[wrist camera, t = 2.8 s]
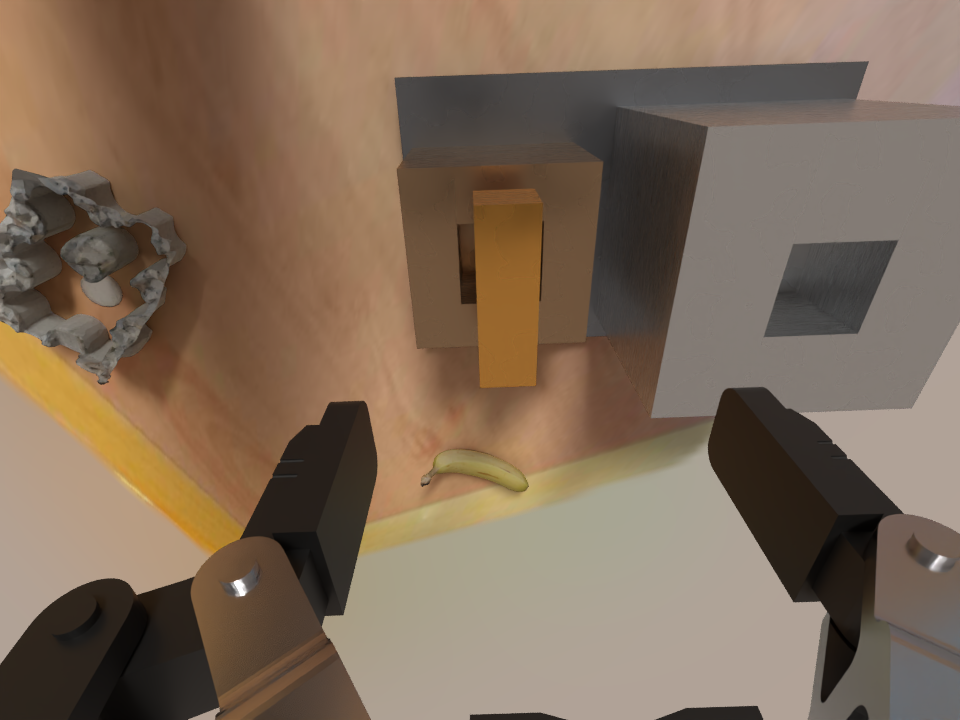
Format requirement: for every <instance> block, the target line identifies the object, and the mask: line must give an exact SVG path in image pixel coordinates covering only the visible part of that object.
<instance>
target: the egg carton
mask: <svg viewBox="0 0 960 720" xmlns="http://www.w3.org/2000/svg"><path fill="white" fill-rule="evenodd" d="M10 193H11V195H12V199H11V202H10V205H9V207H7V208H6V209H5V210H4V212H5V214H7V215H6V217H5V219H4V220H3V221H2V222H1V223H0V321H2V322H4V323H6V324H8V325H10V326H11V327H12V328H13V329H14V330H15V331H16V332H17V333H19V332H25V333H28V334H31V335H33V336H35V337H37V338H39V339H40V340H41V341H42V345H44V346H47V347H55V346H58V345H64V346H66V347H68V348H70V349H72V350H74V351H77V352H79V353H81V354H80V355H78V356H79V358H78V359H77V360H76V363H77V365H79V366H80V367H81V368H83V369H85V370H87V371H89V372H91V373H94V374H96V375H97V376H98V377H99V380H97V382H98V383H99V384H100V385H102V384H105V383H108V381H107V380H108V379H109V378H110V377H111V375H110V373H111V372H112V370H113V369H114V368H115V366H116V364H117V361H118V360H119V359H120V358H121V357H131V356H133V355H135V354H136V353H138V352H139V351H140V350H141V349H142V348H143V346H144V345H145V344H146V343H147V342H148V340H149V339H150V337H151V334H152V330H151V329H150V328H148V327H147V326H146V324H145V323H146V322H147V321H148V319H149V318H150V316H151V315H152V314H153V312H154V311H155V310H157V309H158V308H159V307H160V306H162V305H163V304H164V303H165V299H166V291H167V288H166V287H165V286H164V284H165V280H166V278H167V275H168V273H169V267H170V266H171V265H174V264H175V263H176V262H178V261H180V260H182V258H183V256H184V255H185V252H186V244H185V243H184V242H183V241H181V240H180V239H179V237H178V236H177V234H176V232H175V229H174V220H173V217H172V216H171V215H169V214H168V213H166V212H164V211H162V210H161V209H159V208H156V207H155V208H153V209H151V210H149V211H147V212H144V213H141V214H139V215H133V214H130V213H128V212H126V211H125V210H123V209H122V208H121V207H120V206H119V205H118V204H117V202H116V201H115V199H114V197H113V195H112V193H111V190H110V182H109V181H108V180H107V179H106V178H104V177H102V176H100V175H98V174H97V173H95V172H94V171H91V170H88V171H84V172H81V173H78V174H73V175H69V176H65V177H64V176H58V177H52V178H48V177H44V176H41V175H38V174H34V173H31V172H27V171H23V170H19V169H14V170H13V172H12V184H11V190H10ZM65 194H68V195H69V196H70V197H71V198H73V202H74V204H75V205H77V206H79V207H80V208H82V209H84V210H86V211H87V213H88V215H89V217H90V220H91V221H93V222H94V223H95V224H97V225H99V227H97V228H94V229H92V230H89V231H87V232H85V233H82V234H79V235H77V236H75V237H74V238H72V239H70V240H69V241H68V242H66V244H65V245H64V246H63V247H62V249H61V257H62V259H63V260H64V261H65V262H67V263H68V265H69V266H70V267H71V268H72V269H74V270H75V271H76V272H77V273H79V274H80V275H82V276H83V278H82V280H81V287H82V290H83V292H84V293H85V295H86V296H87V297H88V298H89V299H90V300H91V301H92V302H94V303H96V304H99V305H101V306H108V307H113V306H115V305H118V304H119V303H120V302H121V301H122V296H123V295H122V290H121V288H120V286H119V285H118V283H117V282H116V281H115V280H114V279H113V278H111V277H110V276H109V275H110V274H111V273H113V272H115V271H117V270H119V269H120V268H122V267H124V266H125V265H127V264H129V263H130V262H132V261H133V260H135V259H136V257H137V255H138V245H137V242H136V240H135V239H134V237H133V236H132V235H131V234H130V233H129V232H127V231H126V230H125V229H124V228H121V227H120V226H123V225H124V226H127V227H131V226H132V225H134V224H135V223H136V222H140V223H144V224H146V225H148V226H149V227H150V228H152V231H153V232H152V237H151V243H152V244H153V246H154V247H155V248H156V251H157V254H158V255H162V254H165V255H167V258H164V259H161V260H159V261H158V262H156V263H154V264H153V265H151V266H149V267H148V268H146V269H145V270H143V271H141V272H140V273H138V275H137V276H136V277H134V278H133V279H131V280H130V285H131V286H132V287H135V288H136V289H138V290H139V291H140V293H141V296H142V298H143V300H144V301H145V302H146V303H145V304H143V305H141V306H140V307H138V308H137V309H135V310H134V311H133V312H131V313H130V314H129V315H127V316H126V317H124V318H122V319H120V320H118V321H117V323H116V327H115V328H113V329H111V330H110V334H111V335H112V341H111V340H109V336H108V331H107V329H106V327H105V326H104V325H103V323H102V322H100V321H99V320H98V319H96V318H94V317H92V316H89V315H85V314H77V315H74V316H72V317H71V318H69V319H67V320H65V319H63V318H62V317H60V316H58V315H56V314H54V313H53V312H52V311H51V308H50V304H49V302H48V300H47V299H46V297H45V296H44V295H42V294H41V293H40V292H39V291H37V290H35V289H34V288H33V287H35V286H37V285H39V284H41V283H43V282H45V281H47V280H49V279H51V278H53V277H55V276H57V275H58V274H59V273H60V272H61V271H62V263H61V259H60V258H59V256H58V254H57V253H56V252H55V251H54V249H52V248H51V247H50V246H49V245H48V244H46V243H45V242H44V238H47V237H49V236H52V235H54V234H57V233H59V232H62V231H65V230H68V229H70V228H71V227H72V226H73V224H74V222H75V212H74V209H73V207H72V206H71V204H70V203H69V202H68V201H67V199H66V198H65V197H64V196H62V195H65Z"/></svg>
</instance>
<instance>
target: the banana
mask: <svg viewBox="0 0 960 720" xmlns="http://www.w3.org/2000/svg"><path fill="white" fill-rule="evenodd" d="M451 472H453V473H463V474H467V475H473V476H477V477H480V478H484V479H487V480H490V481H493V482H496V483H498V484H500V485H502V486H504V487H506V488H508V489H510V490H513V491H518V492H523V491H525V490H526V489H527V488H528V487H529V486H528V485H529V484H528V482H527V480H526V478H525V476H524V475H523V474H522V472H521V471H520V470H518V469H517V468H516V467H514V466H513V465H511V464H509V463H507V462H505V461H503V460H501V459H499V458H496V457H494V456H492V455H489V454H486V453H482V452H477V451H473V450H465V449H453V450H447V451H444V452H442V453H440V454H438V455H437V456H436V457H435V459H434V462H433V469H432V470H431V471H430V472H429V473H428V474H426V475H424V476H423V477H422V478H421V480H422V481H421V486H422V487H423V486H424V485H428V484H429V483H430V480H431V478H432V477H433V476H434V475H435V474H441V473H451Z"/></svg>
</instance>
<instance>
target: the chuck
mask: <svg viewBox="0 0 960 720" xmlns="http://www.w3.org/2000/svg"><path fill="white" fill-rule="evenodd" d="M868 62H869V61H867V62H835V63H806V64H777V65H749V66H720V67H691V68H662V69H633V70H604V71H575V72H546V73H517V74H488V75H459V76H430V77H401V78H395V87H396V96H397V106H398V115H399V125H400V134H401V144H402V153H403V161H402V163H401V164H400V165H399V167H398V168H397V176H398V185H399V193H400V202H401V211H402V220H403V229H404V238H405V246H406V255H407V264H408V273H409V282H410V290H411V299H412V308H413V317H414V326H415V335H416V343H417V349H420V348H447V347H473V346H478V322H477V294H476V267H475V239H474V211H473V191H480V190H508V189H535V190H536V192H537V194H538V195H539V197H540V199H541V201H542V202H543V215H542V241H541V267H540V294H539V320H538V344H554V343H581V342H586V337H590V336H607V337H608V339H609V341H610V343H611V345H612V347H613V348H614V350H615V352H616V354H617V356H618V358H619V360H620V362H621V363H622V365H623V367H624V369H625V371H626V373H627V375H628V377H629V378H630V380H631V382H632V384H633V386H634V388H635V390H636V392H637V394H638V395H639V397H640V399H641V401H642V403H643V405H644V407H645V409H646V410H647V412H648V414H649V416H650V418H669V417H695V416H716V412H717V409H718V405H719V401H720V398H721V395H722V393H723V391H724V390H725V389H727V388H744V387H765V388H767V389H768V390H769V391H770V392H771V393H772V394H773V395H774V396H775V397H776V398H777V399H778V400H779V402H780V403H781V404H782V405H783V406H784V407H785V408H786V409H790V408H791V409H793V410H794V411H796V412H798V413H799V412H824V411H825V412H826V411H852V410H877V409H904V408H912V407H913V405H914V403H915V401H916V400H917V398H918V396H919V394H920V393H921V390H922V389H923V387H924V385H925V383H926V382H927V380H928V378H929V376H930V374H931V373H932V371H933V369H934V367H935V365H936V364H937V362H938V360H939V358H940V356H941V354H942V353H943V351H944V349H945V347H946V345H947V344H948V342H949V340H950V338H951V336H952V335H953V333H954V331H955V329H956V327H957V325H958V324H959V322H960V106H948V105H933V104H918V103H903V102H888V101H873V100H858V99H856V98H857V95H858V92H859V89H860V86H861V83H862V80H863V77H864V74H865V71H866V68H867V65H868Z"/></svg>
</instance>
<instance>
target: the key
mask: <svg viewBox="0 0 960 720" xmlns="http://www.w3.org/2000/svg"><path fill="white" fill-rule="evenodd" d="M473 211H474V239H475V267H476V294H477V322H478V350H479V375H480V388H492V387H518V386H536V372H537V346H538V320H539V294H540V267H541V241H542V215H543V202H542V201H541V199H540V197H539V195H538V194H537V192H536V190H535V189H508V190H480V191H473Z"/></svg>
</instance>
